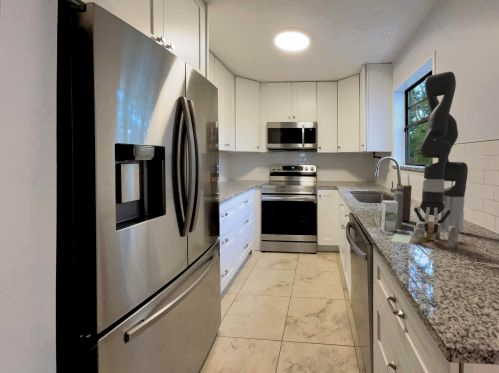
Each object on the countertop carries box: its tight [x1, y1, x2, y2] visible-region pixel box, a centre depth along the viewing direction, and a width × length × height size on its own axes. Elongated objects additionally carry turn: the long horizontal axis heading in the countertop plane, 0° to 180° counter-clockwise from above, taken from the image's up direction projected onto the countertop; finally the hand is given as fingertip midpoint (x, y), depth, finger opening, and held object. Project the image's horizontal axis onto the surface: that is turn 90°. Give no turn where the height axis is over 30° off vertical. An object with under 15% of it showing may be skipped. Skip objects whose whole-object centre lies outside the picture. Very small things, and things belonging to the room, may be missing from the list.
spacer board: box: [408, 222, 478, 253], centre depth 130 cm, size 22×16×7 cm
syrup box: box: [380, 199, 398, 232], centre depth 156 cm, size 6×6×14 cm
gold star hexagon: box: [422, 234, 427, 242], centre depth 134 cm, size 5×4×2 cm
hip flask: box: [393, 186, 404, 230], centre depth 167 cm, size 16×4×20 cm, turn 159°
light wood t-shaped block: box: [426, 220, 435, 241], centre depth 130 cm, size 3×7×10 cm
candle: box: [397, 184, 412, 222], centre depth 180 cm, size 8×7×20 cm
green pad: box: [390, 233, 412, 245], centre depth 138 cm, size 6×16×1 cm, turn 149°
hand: (430, 232), depth 132 cm, fingers closed on light wood t-shaped block, 2 cm apart
